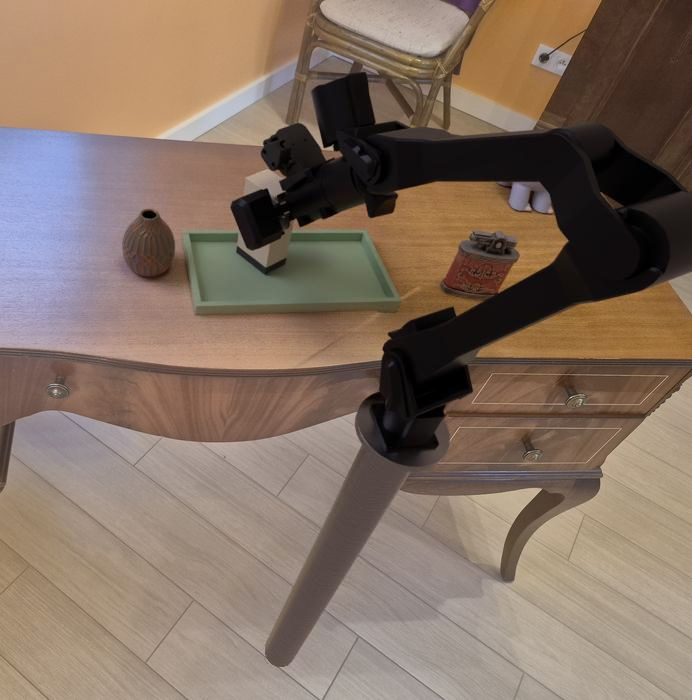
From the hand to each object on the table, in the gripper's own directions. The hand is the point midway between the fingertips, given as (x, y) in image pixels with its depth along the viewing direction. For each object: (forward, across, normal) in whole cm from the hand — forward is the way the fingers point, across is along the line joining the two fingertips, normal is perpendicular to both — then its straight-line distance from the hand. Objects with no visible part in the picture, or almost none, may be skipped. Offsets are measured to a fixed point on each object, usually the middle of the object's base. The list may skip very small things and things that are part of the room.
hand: (259, 216), depth 83 cm
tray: (+1, -1, +9) cm, 9 cm away
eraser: (+3, 0, +5) cm, 6 cm away
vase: (+9, +14, +1) cm, 17 cm away
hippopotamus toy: (-6, -53, +16) cm, 56 cm away
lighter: (-11, -21, +21) cm, 32 cm away
